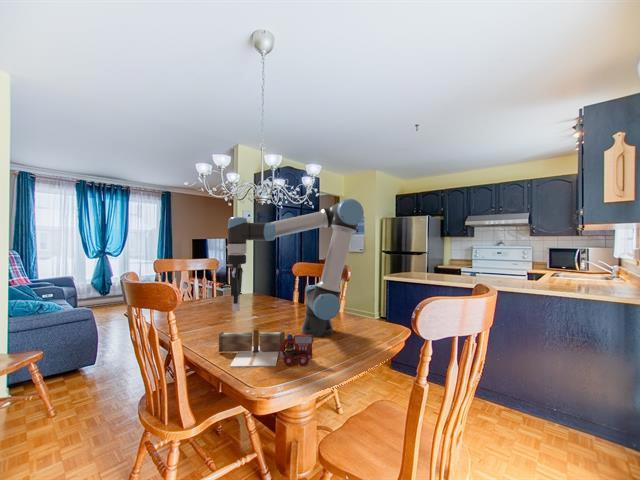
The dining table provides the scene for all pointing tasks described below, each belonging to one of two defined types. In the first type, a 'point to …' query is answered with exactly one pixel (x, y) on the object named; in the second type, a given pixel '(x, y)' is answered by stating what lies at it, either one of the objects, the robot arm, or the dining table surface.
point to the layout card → (255, 358)
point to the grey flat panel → (235, 342)
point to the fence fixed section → (268, 340)
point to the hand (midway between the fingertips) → (236, 310)
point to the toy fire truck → (296, 349)
